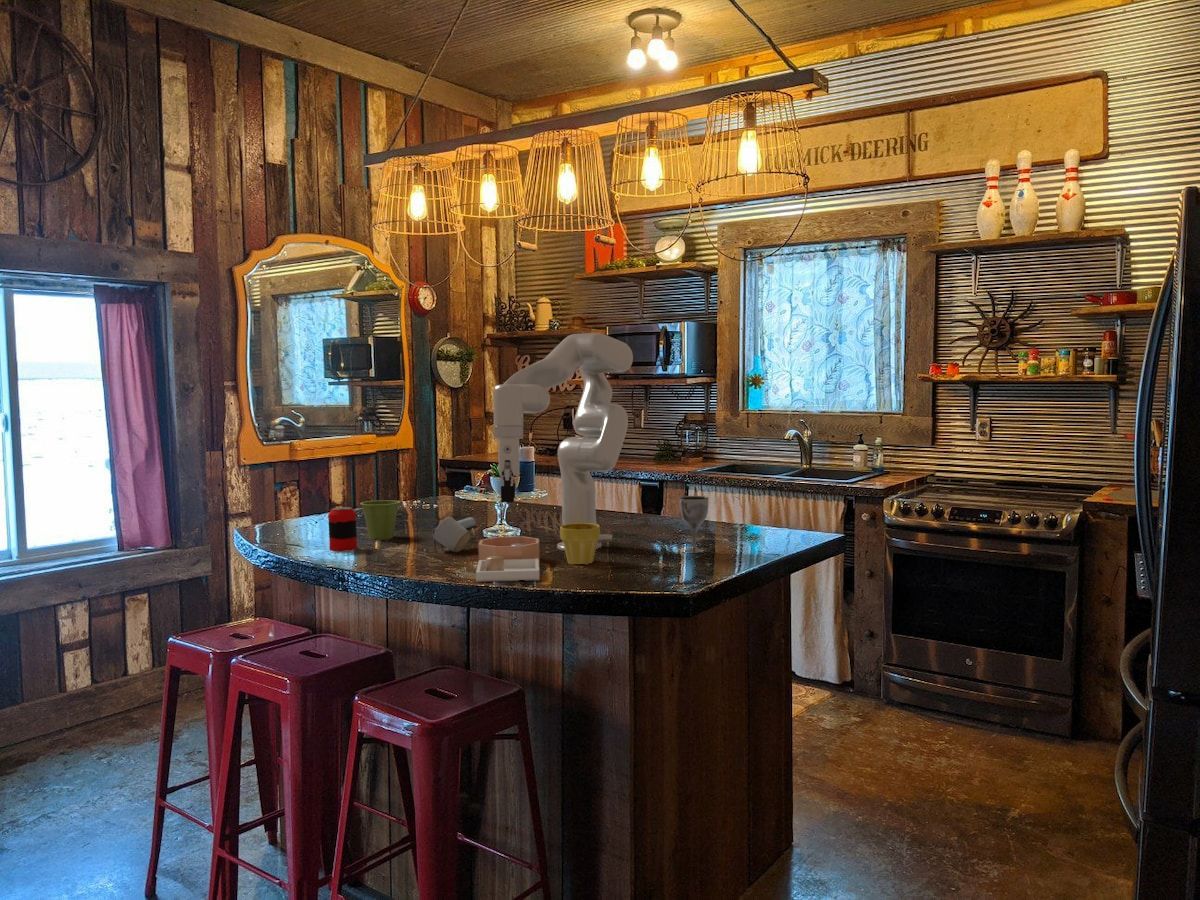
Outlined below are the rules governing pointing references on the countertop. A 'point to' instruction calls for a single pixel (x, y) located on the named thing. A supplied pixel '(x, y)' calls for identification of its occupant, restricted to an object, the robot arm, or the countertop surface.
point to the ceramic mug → (451, 534)
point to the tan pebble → (495, 563)
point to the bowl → (509, 548)
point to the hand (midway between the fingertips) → (508, 500)
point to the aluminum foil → (463, 523)
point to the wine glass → (694, 515)
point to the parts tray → (509, 571)
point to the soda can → (342, 529)
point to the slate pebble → (518, 544)
